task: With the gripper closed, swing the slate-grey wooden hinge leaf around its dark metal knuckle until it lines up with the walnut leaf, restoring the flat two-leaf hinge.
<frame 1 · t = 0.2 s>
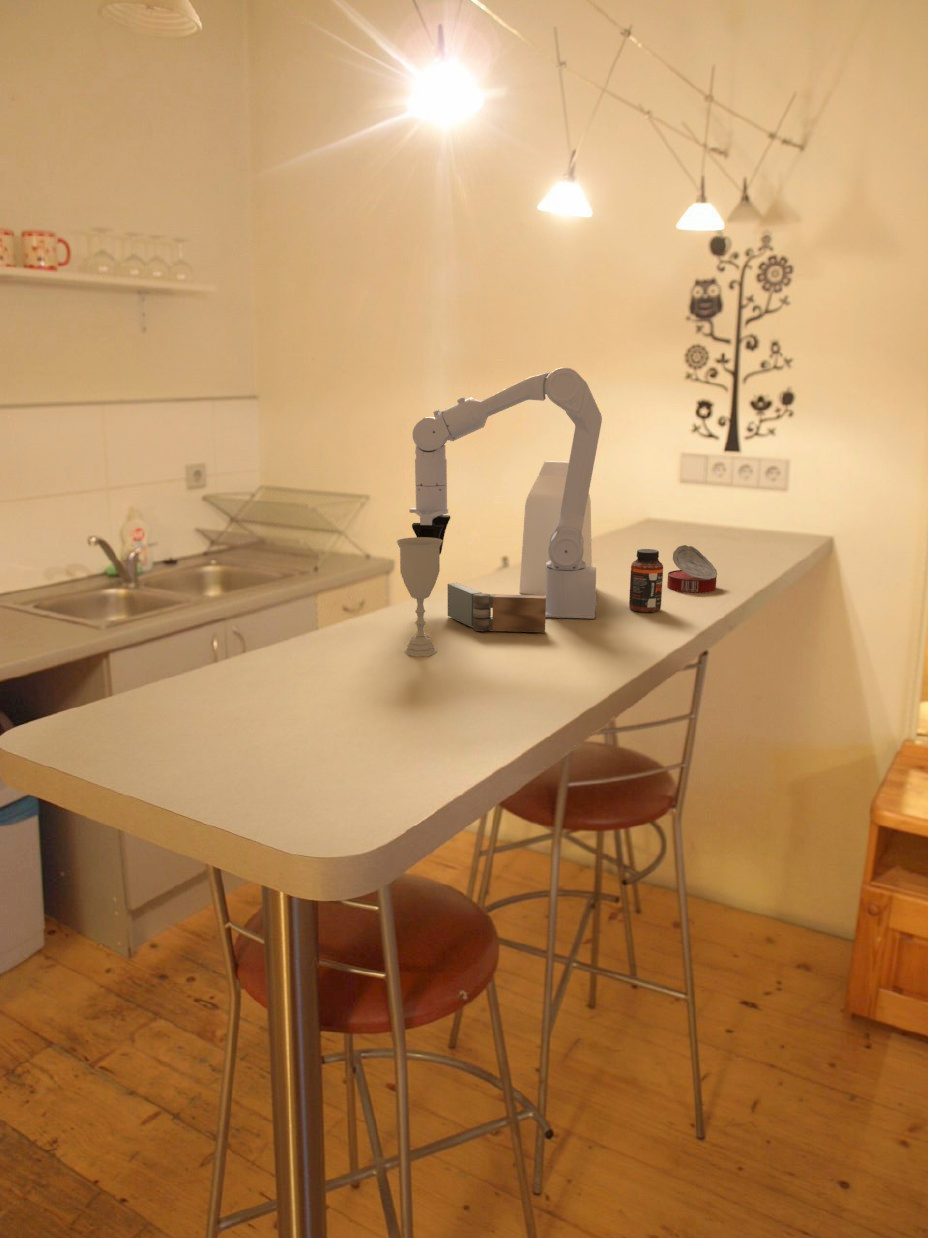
hand: (432, 558, 185), 10 cm above the breakfast bar, fingers open, 7 cm apart
fixed leaf: (481, 630, 173), on the breakfast bar
chalice: (420, 653, 160), on the breakfast bar
supplement bottle: (644, 610, 188), on the breakfast bar
milk: (556, 590, 204), on the breakfast bar
canned food: (691, 589, 206), on the breakfast bar
swing leaf: (468, 606, 176), point 3 cm above the breakfast bar, hinge at -55.0°
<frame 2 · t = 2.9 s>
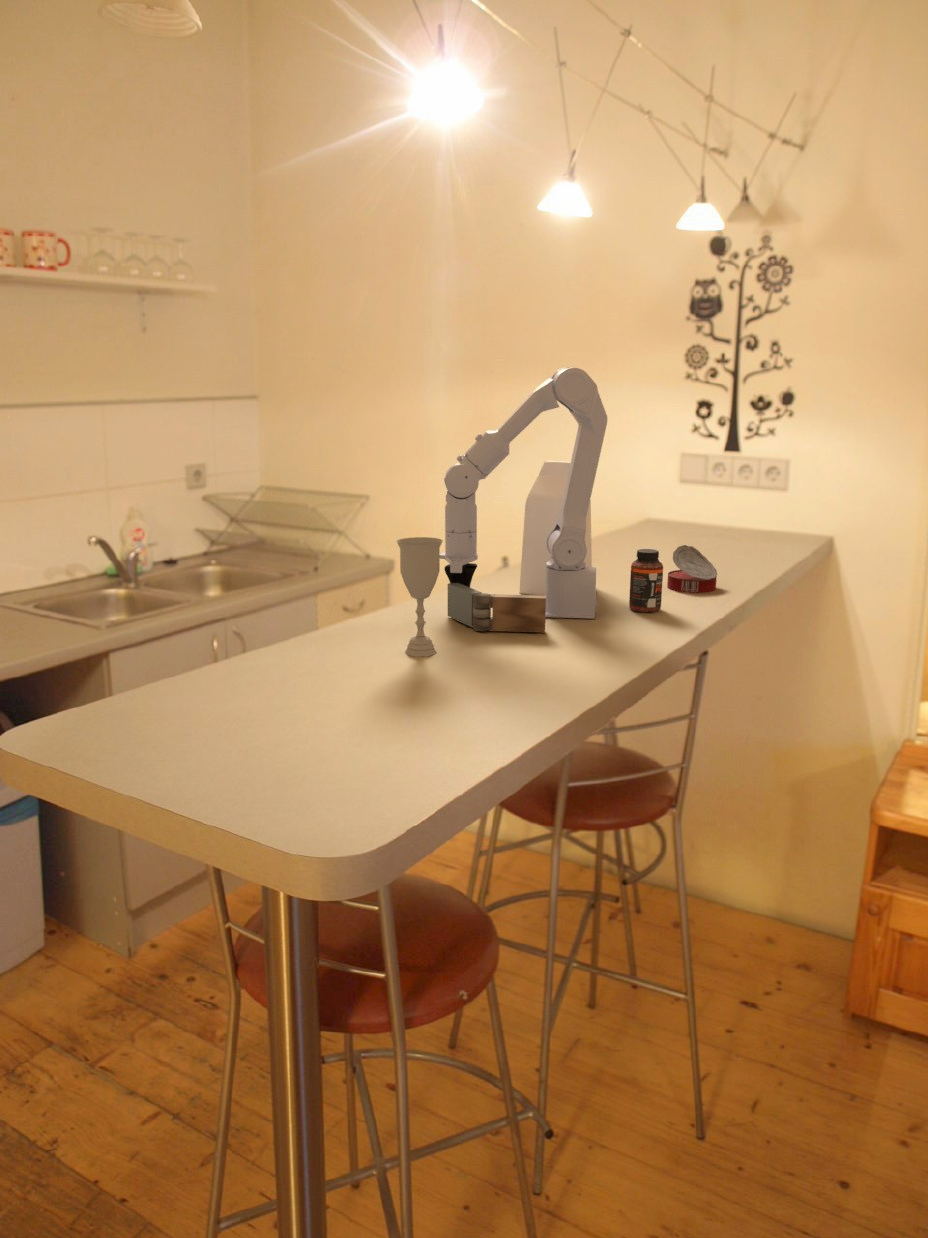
hand: (460, 603, 184), 2 cm above the breakfast bar, fingers closed
swing leaf: (468, 606, 176), point 3 cm above the breakfast bar, hinge at -55.0°, touching gripper
everything else where it was.
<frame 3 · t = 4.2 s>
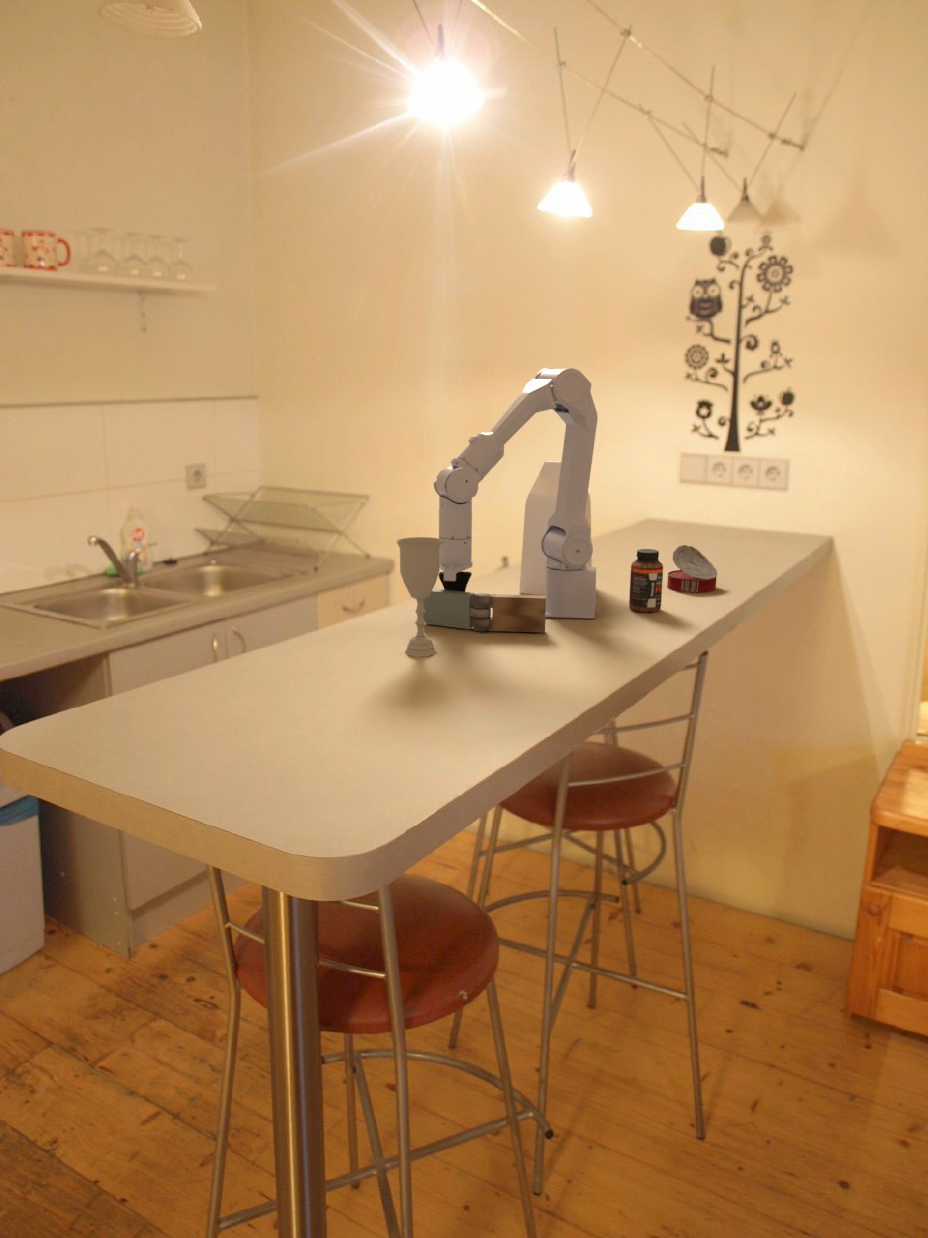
hand: (454, 612, 177), 2 cm above the breakfast bar, fingers closed, pressing on swing leaf
swing leaf: (457, 609, 174), point 3 cm above the breakfast bar, hinge at -18.9°, touching gripper
everything else where it was.
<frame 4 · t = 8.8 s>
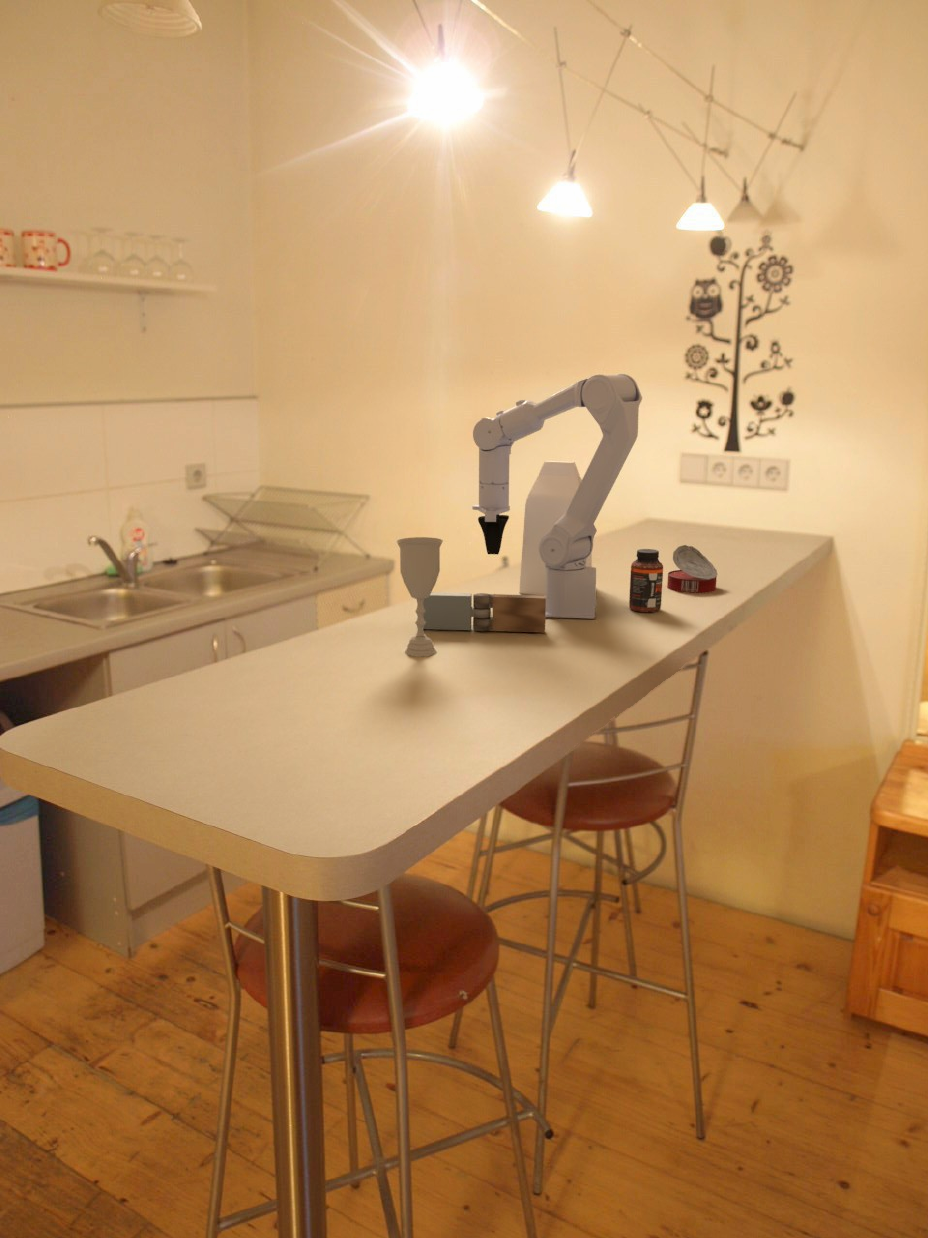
hand: (493, 553, 191), 9 cm above the breakfast bar, fingers closed
swing leaf: (454, 611, 172), point 3 cm above the breakfast bar, hinge at 1.1°
everything else where it was.
at the end: swing leaf at +1° (first picture: -55°) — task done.
